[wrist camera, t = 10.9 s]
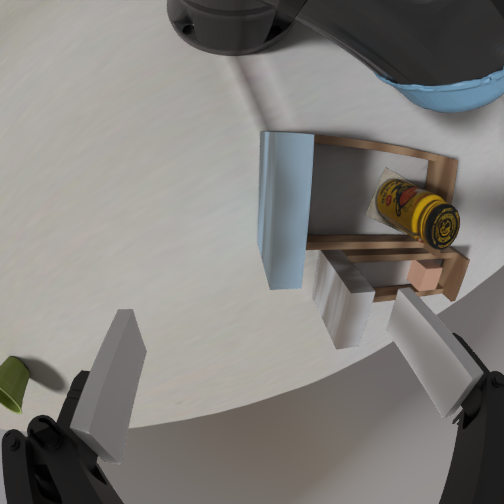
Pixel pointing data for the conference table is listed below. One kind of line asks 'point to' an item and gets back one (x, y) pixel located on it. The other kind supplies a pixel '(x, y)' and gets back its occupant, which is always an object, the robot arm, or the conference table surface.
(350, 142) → the wooden shelf
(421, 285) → the clay block
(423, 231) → the condiment
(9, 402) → the plant pot
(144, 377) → the conference table surface
